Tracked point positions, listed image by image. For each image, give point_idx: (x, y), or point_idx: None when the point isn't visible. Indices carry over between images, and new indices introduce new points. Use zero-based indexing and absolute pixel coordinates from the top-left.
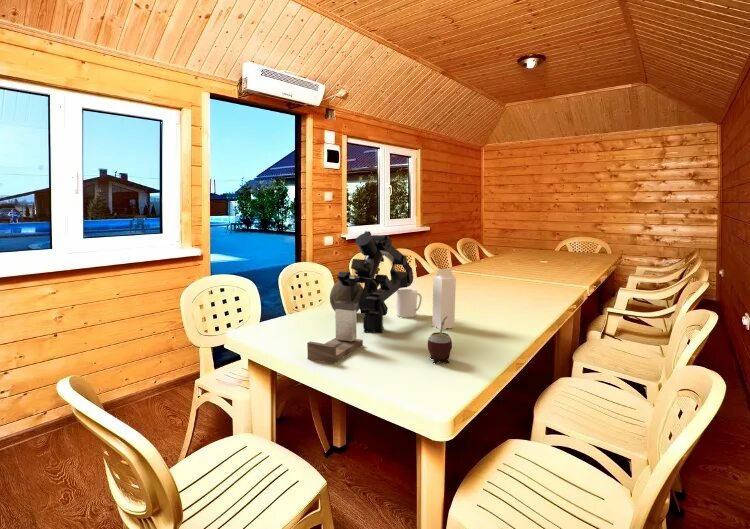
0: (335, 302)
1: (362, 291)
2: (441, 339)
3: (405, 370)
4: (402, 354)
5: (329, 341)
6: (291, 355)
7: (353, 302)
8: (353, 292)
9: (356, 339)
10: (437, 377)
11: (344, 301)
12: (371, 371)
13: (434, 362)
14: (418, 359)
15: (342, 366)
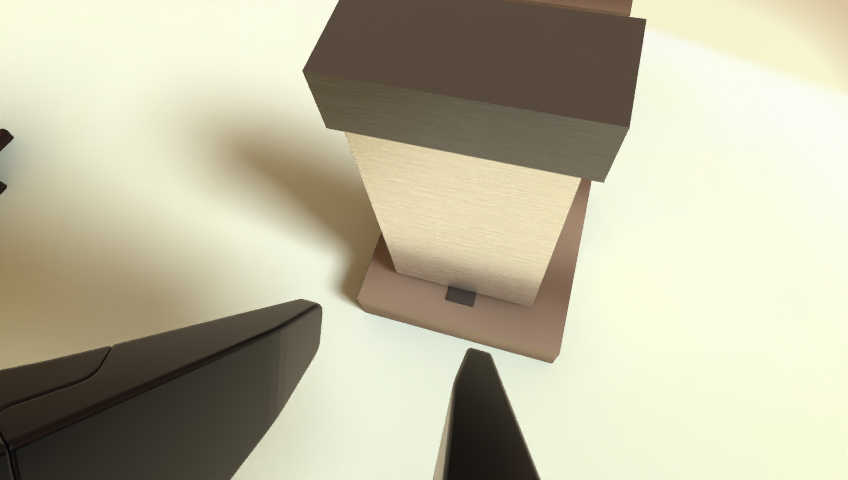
0: (623, 21)
1: (164, 370)
2: None
3: (149, 54)
4: (131, 217)
5: (577, 219)
6: (720, 89)
7: (365, 76)
8: (444, 452)
9: (403, 297)
10: (42, 28)
11: (514, 95)
12: (285, 20)
13: (1, 129)
14: (65, 170)
15: None
